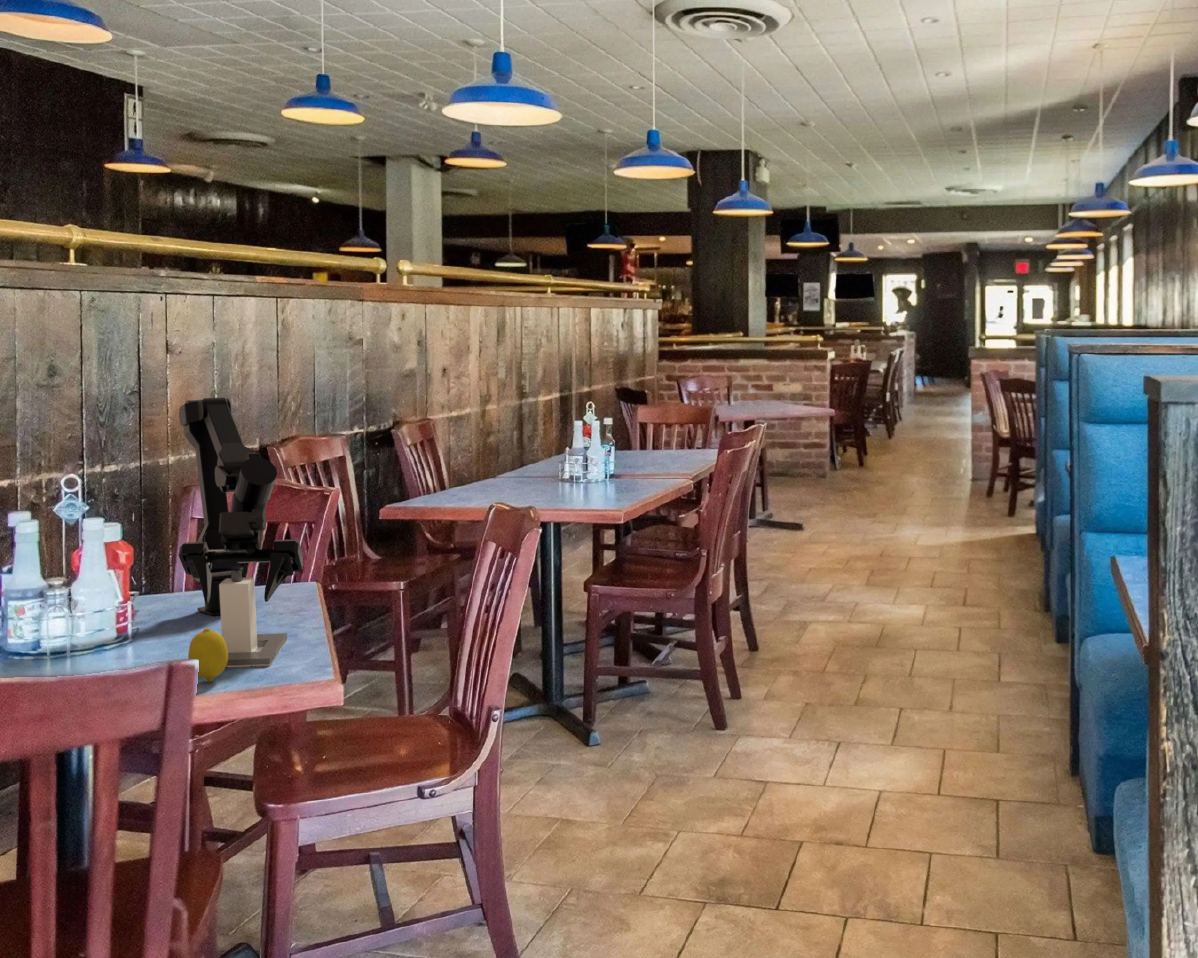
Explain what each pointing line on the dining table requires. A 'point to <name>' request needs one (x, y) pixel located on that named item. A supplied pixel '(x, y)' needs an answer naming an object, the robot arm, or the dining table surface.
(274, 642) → the socket plate
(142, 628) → the dining table surface
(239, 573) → the beige carton with cap
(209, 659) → the lemon
